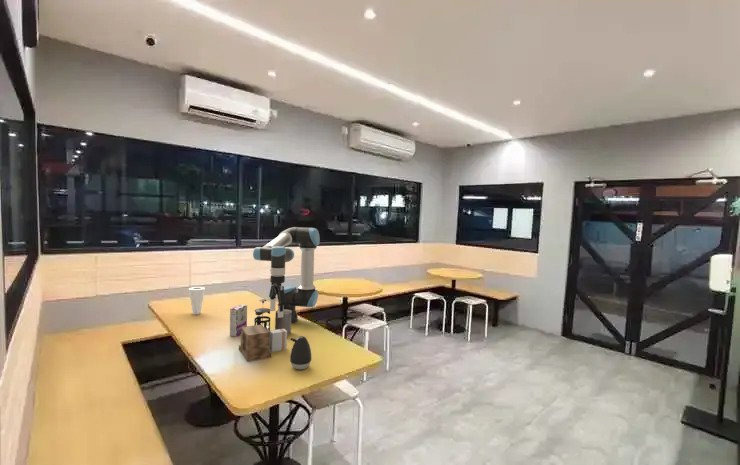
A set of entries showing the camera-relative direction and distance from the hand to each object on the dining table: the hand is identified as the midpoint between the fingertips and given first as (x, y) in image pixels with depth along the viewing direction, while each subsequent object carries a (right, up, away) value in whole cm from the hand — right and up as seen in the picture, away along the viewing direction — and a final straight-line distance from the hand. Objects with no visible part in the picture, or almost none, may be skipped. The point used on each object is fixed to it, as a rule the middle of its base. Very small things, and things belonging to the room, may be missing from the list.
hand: (276, 314), depth 191 cm
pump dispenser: (+17, -21, -21) cm, 34 cm away
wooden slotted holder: (-9, -19, -6) cm, 22 cm away
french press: (-13, -18, +16) cm, 27 cm away
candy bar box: (-29, -17, +22) cm, 40 cm away
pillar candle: (-3, -18, +26) cm, 32 cm away
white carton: (+1, -19, +1) cm, 19 cm away
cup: (-72, -13, +58) cm, 93 cm away
